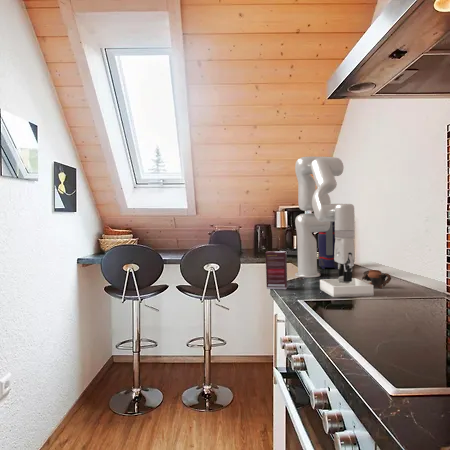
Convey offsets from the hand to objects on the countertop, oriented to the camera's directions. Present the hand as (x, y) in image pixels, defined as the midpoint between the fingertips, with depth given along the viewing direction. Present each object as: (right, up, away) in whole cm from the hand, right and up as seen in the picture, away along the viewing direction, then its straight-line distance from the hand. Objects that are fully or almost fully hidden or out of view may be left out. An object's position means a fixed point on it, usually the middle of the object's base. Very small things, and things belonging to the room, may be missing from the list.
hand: (345, 279), depth 150 cm
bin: (0, -5, 0) cm, 5 cm away
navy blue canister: (+12, -3, +65) cm, 66 cm away
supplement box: (-26, -5, +11) cm, 29 cm away
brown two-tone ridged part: (+17, -5, +10) cm, 20 cm away
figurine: (0, -1, 0) cm, 1 cm away
